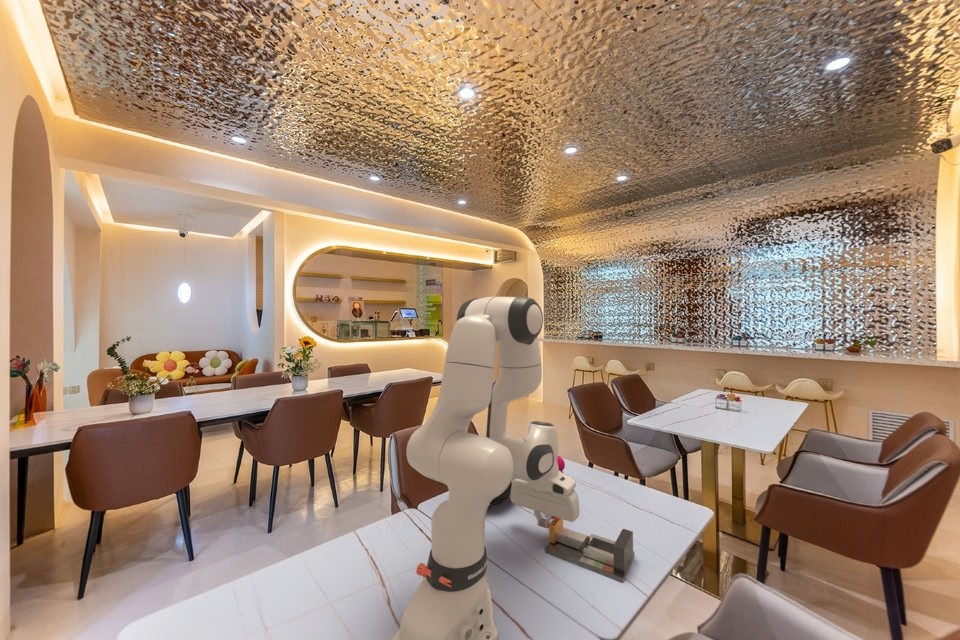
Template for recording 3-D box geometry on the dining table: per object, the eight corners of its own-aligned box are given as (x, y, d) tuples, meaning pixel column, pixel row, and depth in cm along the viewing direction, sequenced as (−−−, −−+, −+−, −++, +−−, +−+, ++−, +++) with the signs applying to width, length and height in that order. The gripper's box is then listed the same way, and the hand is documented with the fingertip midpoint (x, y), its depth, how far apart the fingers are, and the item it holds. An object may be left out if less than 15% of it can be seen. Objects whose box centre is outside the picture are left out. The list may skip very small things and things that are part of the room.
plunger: (583, 562, 91) (583, 542, 91) (544, 547, 98) (544, 529, 98) (594, 543, 99) (594, 526, 99) (557, 531, 105) (557, 514, 105)
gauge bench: (622, 582, 86) (622, 552, 86) (544, 552, 97) (544, 526, 97) (634, 555, 96) (634, 528, 96) (562, 530, 107) (562, 507, 107)
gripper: (506, 473, 108) (506, 520, 108) (573, 491, 96) (573, 544, 96) (516, 466, 113) (517, 511, 113) (581, 482, 101) (581, 532, 101)
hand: (543, 526), depth 104 cm, fingers closed
